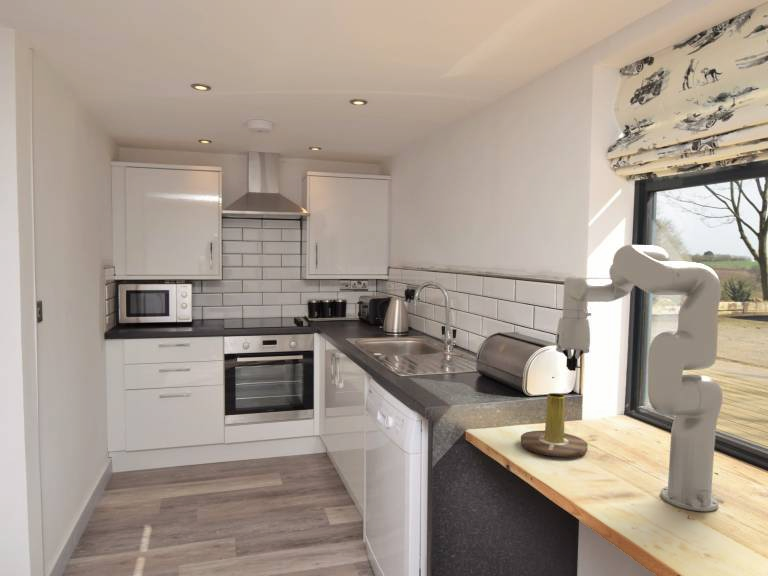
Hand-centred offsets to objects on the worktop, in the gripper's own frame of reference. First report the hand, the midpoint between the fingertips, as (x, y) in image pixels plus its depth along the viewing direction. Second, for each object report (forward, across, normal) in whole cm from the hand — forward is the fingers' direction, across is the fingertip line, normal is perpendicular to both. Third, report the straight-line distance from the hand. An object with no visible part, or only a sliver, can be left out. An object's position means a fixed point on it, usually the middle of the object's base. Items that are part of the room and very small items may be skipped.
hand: (571, 369), depth 184 cm
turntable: (+22, +8, +10) cm, 25 cm away
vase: (+20, +8, +11) cm, 25 cm away
